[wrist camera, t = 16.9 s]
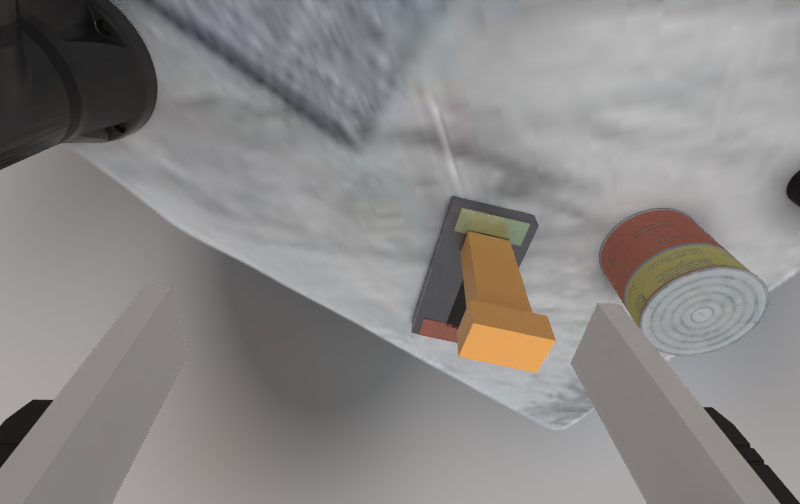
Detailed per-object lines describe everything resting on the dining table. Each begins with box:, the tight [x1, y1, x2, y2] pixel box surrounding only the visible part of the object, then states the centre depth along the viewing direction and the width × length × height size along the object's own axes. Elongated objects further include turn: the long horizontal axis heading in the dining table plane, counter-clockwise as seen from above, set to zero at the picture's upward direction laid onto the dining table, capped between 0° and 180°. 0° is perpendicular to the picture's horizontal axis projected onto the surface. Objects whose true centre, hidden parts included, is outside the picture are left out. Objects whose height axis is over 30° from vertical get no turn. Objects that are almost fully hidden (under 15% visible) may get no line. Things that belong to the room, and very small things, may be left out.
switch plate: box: [412, 196, 539, 343], centre depth 52 cm, size 20×10×3 cm, turn 167°
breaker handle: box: [457, 231, 556, 373], centre depth 41 cm, size 4×7×16 cm, turn 77°
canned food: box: [599, 208, 769, 356], centre depth 45 cm, size 11×11×12 cm
